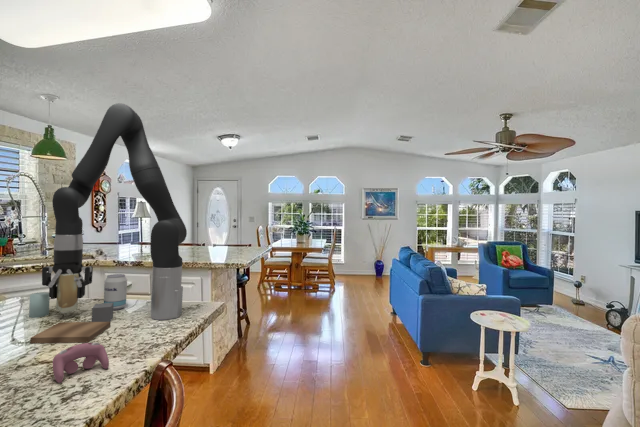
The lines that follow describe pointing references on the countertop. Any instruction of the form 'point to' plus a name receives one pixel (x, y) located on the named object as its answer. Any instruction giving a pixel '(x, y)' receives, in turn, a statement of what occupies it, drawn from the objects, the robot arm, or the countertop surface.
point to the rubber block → (102, 312)
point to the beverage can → (115, 290)
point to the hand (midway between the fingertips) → (67, 298)
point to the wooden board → (71, 332)
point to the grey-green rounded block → (39, 304)
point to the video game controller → (66, 357)
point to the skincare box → (67, 293)
